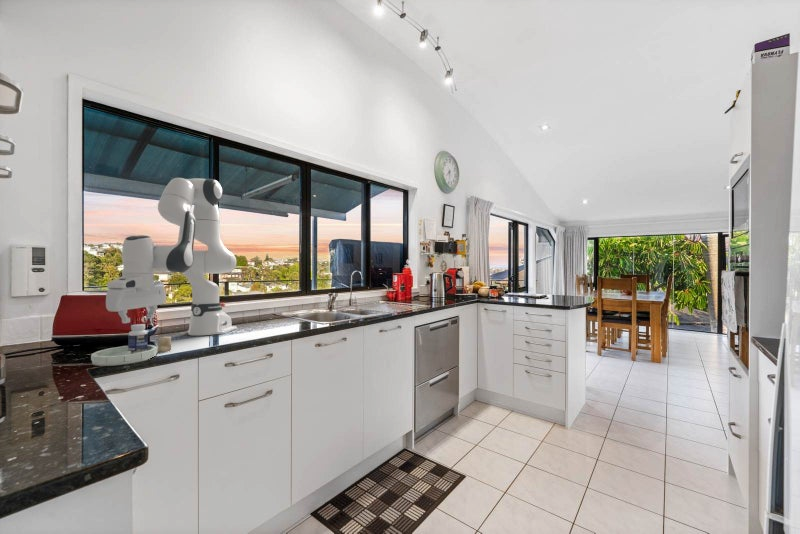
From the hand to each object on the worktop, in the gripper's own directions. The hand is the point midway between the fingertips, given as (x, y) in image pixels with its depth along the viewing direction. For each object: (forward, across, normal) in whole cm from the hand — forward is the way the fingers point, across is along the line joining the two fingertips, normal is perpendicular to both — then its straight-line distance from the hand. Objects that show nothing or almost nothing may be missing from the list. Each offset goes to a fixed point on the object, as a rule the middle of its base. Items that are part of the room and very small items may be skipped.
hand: (138, 320), depth 122 cm
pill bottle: (+11, +1, 0) cm, 11 cm away
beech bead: (+12, -6, +4) cm, 14 cm away
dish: (+12, +6, 0) cm, 13 cm away
